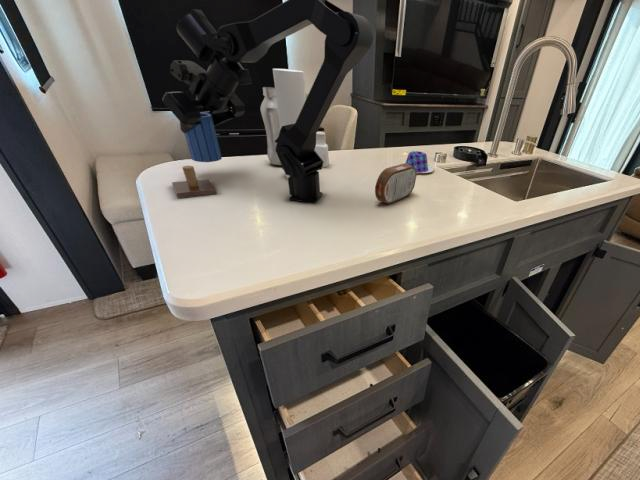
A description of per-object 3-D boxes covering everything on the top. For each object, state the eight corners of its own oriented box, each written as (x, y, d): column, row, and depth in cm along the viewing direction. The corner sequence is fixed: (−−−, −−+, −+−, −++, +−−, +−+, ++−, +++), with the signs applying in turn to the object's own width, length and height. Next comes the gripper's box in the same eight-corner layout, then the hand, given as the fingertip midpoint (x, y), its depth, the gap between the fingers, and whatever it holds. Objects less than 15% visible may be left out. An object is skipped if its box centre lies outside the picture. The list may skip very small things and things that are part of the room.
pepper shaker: (326, 168, 101) (325, 134, 95) (314, 166, 101) (311, 133, 95) (329, 164, 104) (327, 132, 99) (316, 163, 104) (314, 130, 98)
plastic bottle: (277, 169, 96) (267, 89, 84) (264, 163, 99) (251, 86, 87) (295, 165, 100) (287, 89, 88) (281, 160, 103) (272, 86, 91)
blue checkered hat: (416, 162, 115) (418, 147, 112) (441, 172, 109) (443, 155, 106) (391, 166, 108) (392, 150, 105) (416, 177, 102) (418, 159, 99)
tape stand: (209, 183, 82) (203, 160, 79) (216, 194, 77) (210, 170, 74) (173, 187, 78) (165, 163, 75) (178, 198, 73) (169, 173, 70)
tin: (407, 191, 91) (410, 159, 86) (416, 194, 89) (420, 162, 84) (373, 205, 80) (374, 170, 75) (383, 208, 79) (385, 173, 74)
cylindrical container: (317, 177, 94) (310, 72, 78) (298, 182, 89) (287, 71, 73) (299, 171, 96) (289, 69, 81) (280, 176, 91) (266, 68, 76)
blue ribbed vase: (226, 156, 86) (217, 114, 80) (212, 163, 81) (201, 118, 75) (201, 153, 86) (190, 111, 80) (186, 160, 81) (172, 115, 75)
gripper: (224, 48, 76) (200, 96, 85) (151, 43, 61) (131, 102, 70) (258, 91, 79) (231, 134, 88) (197, 97, 65) (172, 147, 74)
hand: (195, 129), depth 80 cm, fingers closed on blue ribbed vase, 7 cm apart
